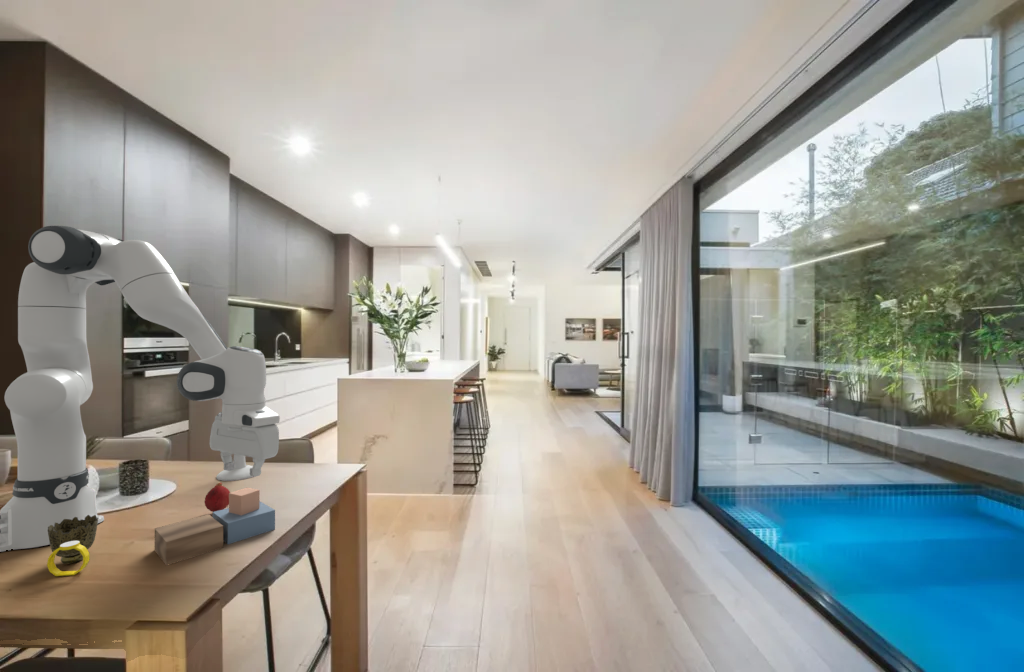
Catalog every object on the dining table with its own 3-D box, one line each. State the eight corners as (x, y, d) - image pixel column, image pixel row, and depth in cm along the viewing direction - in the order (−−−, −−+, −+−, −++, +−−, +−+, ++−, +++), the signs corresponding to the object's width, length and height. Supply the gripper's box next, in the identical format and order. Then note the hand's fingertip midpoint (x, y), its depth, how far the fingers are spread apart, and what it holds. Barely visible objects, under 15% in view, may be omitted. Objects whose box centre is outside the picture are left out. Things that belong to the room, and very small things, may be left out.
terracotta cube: (228, 512, 104) (228, 493, 104) (247, 505, 108) (247, 487, 108) (241, 515, 102) (241, 495, 102) (259, 508, 107) (259, 489, 107)
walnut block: (154, 551, 95) (154, 528, 95) (208, 535, 103) (208, 514, 103) (166, 566, 89) (166, 541, 89) (223, 548, 96) (223, 525, 97)
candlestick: (253, 479, 143) (253, 387, 144) (209, 482, 141) (209, 388, 141) (266, 468, 156) (266, 383, 156) (226, 470, 153) (226, 384, 153)
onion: (217, 518, 112) (218, 487, 112) (198, 516, 113) (199, 485, 113) (236, 510, 118) (236, 480, 118) (218, 508, 119) (218, 478, 119)
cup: (38, 573, 86) (38, 532, 86) (58, 556, 92) (59, 518, 93) (88, 565, 89) (88, 525, 89) (104, 549, 95) (104, 512, 96)
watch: (43, 580, 83) (43, 548, 83) (54, 573, 86) (54, 542, 86) (82, 576, 85) (82, 544, 85) (92, 568, 88) (92, 538, 88)
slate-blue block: (212, 533, 104) (212, 512, 104) (258, 519, 112) (258, 500, 112) (227, 545, 98) (227, 523, 98) (275, 530, 106) (275, 509, 106)
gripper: (203, 412, 107) (200, 470, 106) (259, 420, 98) (257, 482, 98) (229, 409, 112) (227, 463, 112) (284, 416, 104) (282, 475, 104)
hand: (241, 472), depth 105 cm, fingers open, 8 cm apart
